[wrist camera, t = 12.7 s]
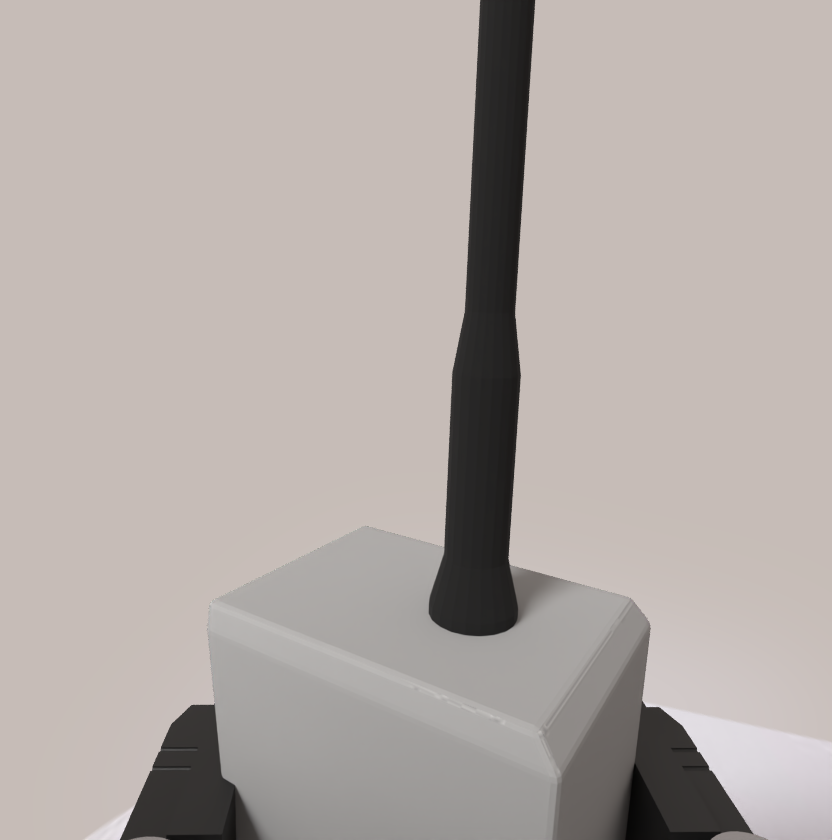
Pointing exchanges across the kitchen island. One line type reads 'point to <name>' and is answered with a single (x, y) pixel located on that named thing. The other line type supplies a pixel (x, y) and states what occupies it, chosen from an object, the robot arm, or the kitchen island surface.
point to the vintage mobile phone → (439, 610)
